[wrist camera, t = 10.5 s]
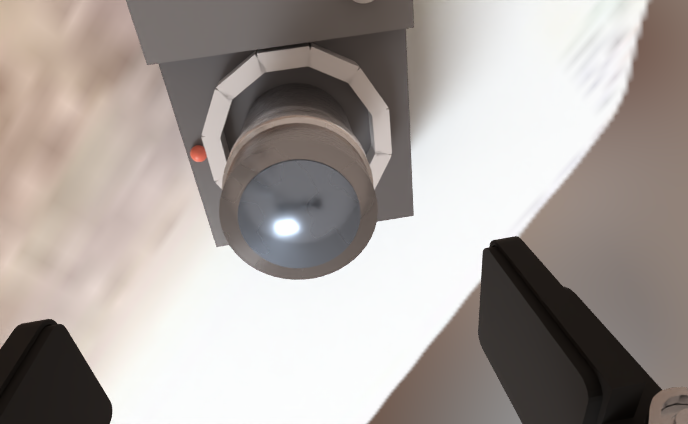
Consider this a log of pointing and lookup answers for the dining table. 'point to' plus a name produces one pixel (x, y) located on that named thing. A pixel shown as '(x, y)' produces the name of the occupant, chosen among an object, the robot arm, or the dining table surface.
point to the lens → (297, 186)
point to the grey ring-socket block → (283, 77)
